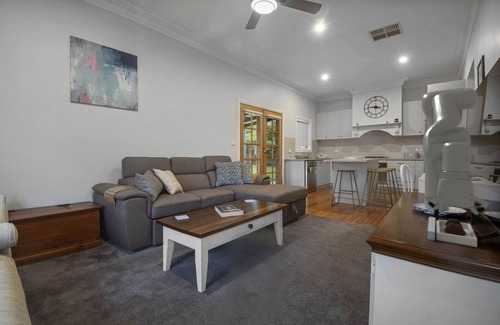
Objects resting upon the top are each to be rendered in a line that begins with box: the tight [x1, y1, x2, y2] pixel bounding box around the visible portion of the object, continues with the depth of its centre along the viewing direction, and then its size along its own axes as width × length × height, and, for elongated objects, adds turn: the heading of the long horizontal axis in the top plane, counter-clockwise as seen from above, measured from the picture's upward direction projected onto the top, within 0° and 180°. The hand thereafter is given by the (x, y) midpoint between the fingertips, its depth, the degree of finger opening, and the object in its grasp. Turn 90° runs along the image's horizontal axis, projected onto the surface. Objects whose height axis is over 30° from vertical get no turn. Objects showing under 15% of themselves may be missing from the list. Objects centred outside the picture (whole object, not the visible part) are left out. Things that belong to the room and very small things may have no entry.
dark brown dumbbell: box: [444, 218, 466, 236], centre depth 83 cm, size 6×5×15 cm
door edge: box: [426, 216, 436, 241], centre depth 87 cm, size 22×2×3 cm, turn 140°
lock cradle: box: [435, 219, 478, 248], centre depth 83 cm, size 20×10×3 cm, turn 140°
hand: (454, 222), depth 83 cm, fingers open, 9 cm apart
